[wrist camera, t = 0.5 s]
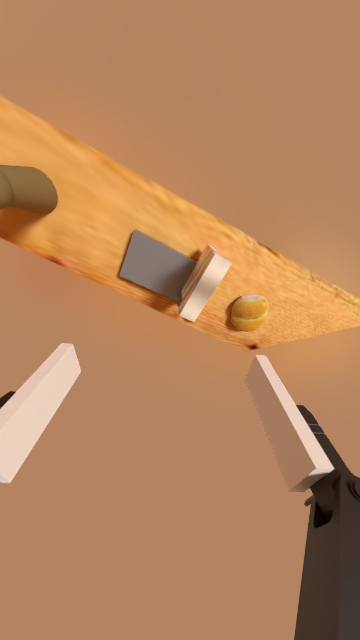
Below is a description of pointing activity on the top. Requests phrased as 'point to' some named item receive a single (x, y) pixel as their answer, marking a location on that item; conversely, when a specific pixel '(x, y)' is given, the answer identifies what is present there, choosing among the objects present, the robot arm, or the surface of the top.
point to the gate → (202, 283)
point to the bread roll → (249, 312)
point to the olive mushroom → (26, 189)
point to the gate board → (156, 266)
